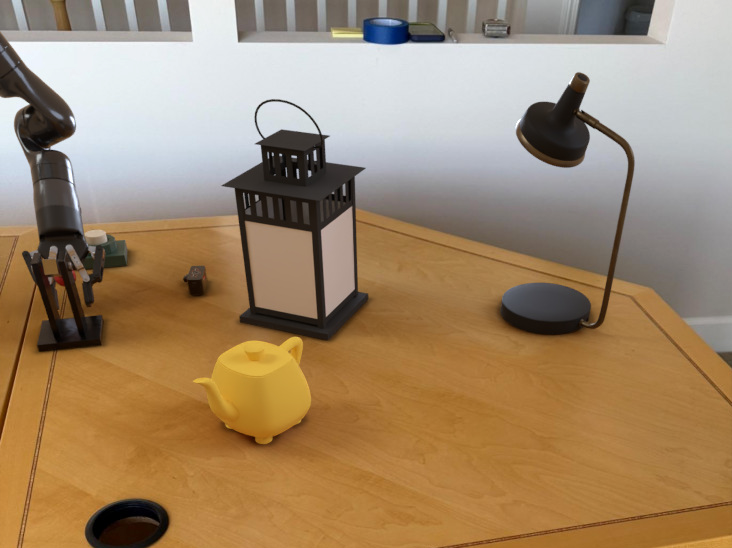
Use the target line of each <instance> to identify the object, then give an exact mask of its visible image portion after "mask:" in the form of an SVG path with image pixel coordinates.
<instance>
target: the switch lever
mask: <svg viewBox="0 0 732 548" xmlns="http://www.w3.org/2000/svg"><path fill="white" fill-rule="evenodd" d="M42 265H43V270H44V275H46V276H47V277H54V279H55V281H56V282H57V283H56V284H57V285H59V286H60V287H63V288H65V285H64V282H63V278H62V275H61V271H60V268H59V264H58V260H57V259H56V258H54V259H43V258H42ZM72 272H73V276H74V280H75V282H76V281H77V274H76V271H74V270H73V271H72Z"/></svg>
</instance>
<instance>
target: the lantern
mask: <svg viewBox="0 0 732 548" xmlns="http://www.w3.org/2000/svg"><path fill="white" fill-rule="evenodd" d="M272 102H273V103H274V102H275V103H277V102H278V103H284V104H287V105H291V106H293V107H294V108H297V109H299V110H300V111H301V112H303V113H304V114H305V115H306V117H308V118H309V119H310V120H311V121H312V123H313V125H314V126H315V127H316V130H317V131H318V133H312V132H306V131H305V132H304V131H298V130H289V129H279V130H277V131H276V132H273V133H272V134H270V135H267V136H266V137H265V136H264V135H263V134H262V132H261V129H260V127H259V125H258V118H257V117H258V113H259V110H260V109H261V107H262V106H263V105H265V104H268V103H272ZM253 117H254V124H255V128H256V131H257V132H258V134H259V136H260V137H261V138H262V139H261V140H259V141H257V142H255V143H254V145H258V146H260V152H261V162H260V163H258V164H256V165H254V166H252V167H251V168H249V169H247V170H246V171H244V172H242V173H241V174H239V175H237V176H235V177H233V178H232V179H230V180H228V181H227V182H225V183H223V184H221V185H220V186H221V187H225V188H231V189H234V195H235V203H236V211H237V218H238V219H237V221H238V227H239V235H240V242H241V251H242V258H243V266H244V274H245V282H246V289H247V297H248V298H247V299H248V305H249V307H248V308H247V309H246V310H245V311H244V312H242V313H241V314H240V315H239V322H240V323H243V324H247V325H252V326H257V327H262V328H266V329H271V330H276V331H282V332H286V333H290V334H296V335H301V336H305V337H310V338H314V339H319V340H324V341H329V340H330V339H331V338H332V337H333V336H334V335H335V334H337V332H338V331H339V330H340V329H341V328H342V327H343V326H344V325H345V324H346V323H347V322H348V321H349V320H350V319H351V318H352V317H353V316H354V315H355V313H357V312H358V311H359V310H360V309H361V308H362V307H363V305H364V304H365V303H367V301H368V300H369V293H367V292H362V291H359V281H358V280H359V279H358V278H359V277H358V244H357V242H358V241H357V212H356V211H357V207H356V176H357V175H359V174H360V173H362V172H363V171H364V170H366V168H367V167H364V166H362V167H361V166H357V165H349V164H342V163H335V162H327V158H326V156H327V155H326V139H328V138H330V137H331V135H328V134H322V131H321V128H320V127H319V125H318V123H317V122H316V121H315V119H314V118H313V116H311V114H309V112H307V111H306V110H305V109H304V108H303V107H301V106H299V105H297V103H293V102H291V101H288V100H284V99H280V98H271V99H266V100H264V101H261V103H260V104H258V105H257V107H256V109H255V111H254V116H253ZM315 155H316V156H315ZM315 159H316V160H315ZM309 172H310V176H309ZM344 191H345V193H344ZM344 194H345V195H344ZM256 196H257V197H258V200H256Z"/></svg>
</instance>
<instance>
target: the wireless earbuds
mask: <svg viewBox="0 0 732 548" xmlns="http://www.w3.org/2000/svg"><path fill="white" fill-rule="evenodd" d="M182 281H183V282H184V283H186V284H187V287H188V288H187V289H188V293H189V295H190V296H203V295H204V294H205V291H206V288H207V284H208V276H207V269H206V266H205V265H191V266H190V267H189V271H188V273H186V274H185V275H183V277H182Z"/></svg>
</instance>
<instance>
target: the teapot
mask: <svg viewBox="0 0 732 548" xmlns="http://www.w3.org/2000/svg"><path fill="white" fill-rule="evenodd" d="M303 347H304V342H303V339H302V338H301V337H300V336H299V337H298V336H291V337H289V338H287V340H285V341H284V342H282V343H281V344H280V345H276V344H274V343H270V342H266V341H263V340H247V341H244V342H241V343H239V344H237V345H234V346H232V347H231V348H230V349H228V350H226V351H224V352H223V353H221V354H220V355H219V356H218V357H217V359H216V362H215V364H214V367H213V371H212V373H211V377H199V378H195V379H193V380H192V383H194V384H197V385H200V386H202V387H203V388H204V390H205V392H206V397H207V402H208V406H209V407H210V410H211V411H212V412H213V414H214V415H215V416H216V417H217V418H218V419H219V420H220V421H221V422H222V423H224V425H225V427H226V428H227V429H230V430H233V431H235V432H237V433H240V434H244V435H245V436H249V437H254V441H255V442H256V443H257V444H260V445H267V444H269V443H271V442H272V441H273V439H274V438H273V437H275V436H277V435H280V434H282V433H284V432H286V431H287V430H289V429H291V428H292V427H294V426H296V425H299V424H300V423H301V422H302V419H304V417H305V416H306V415H307V413H308V411H309V410H310V408H311V405H312V395H311V390H310V387H309V383H308V381H307V378H306V376H305V374H304V372H303V371H302V369H301V367H300V362H301V359H302V355H303V349H304V348H303Z"/></svg>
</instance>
